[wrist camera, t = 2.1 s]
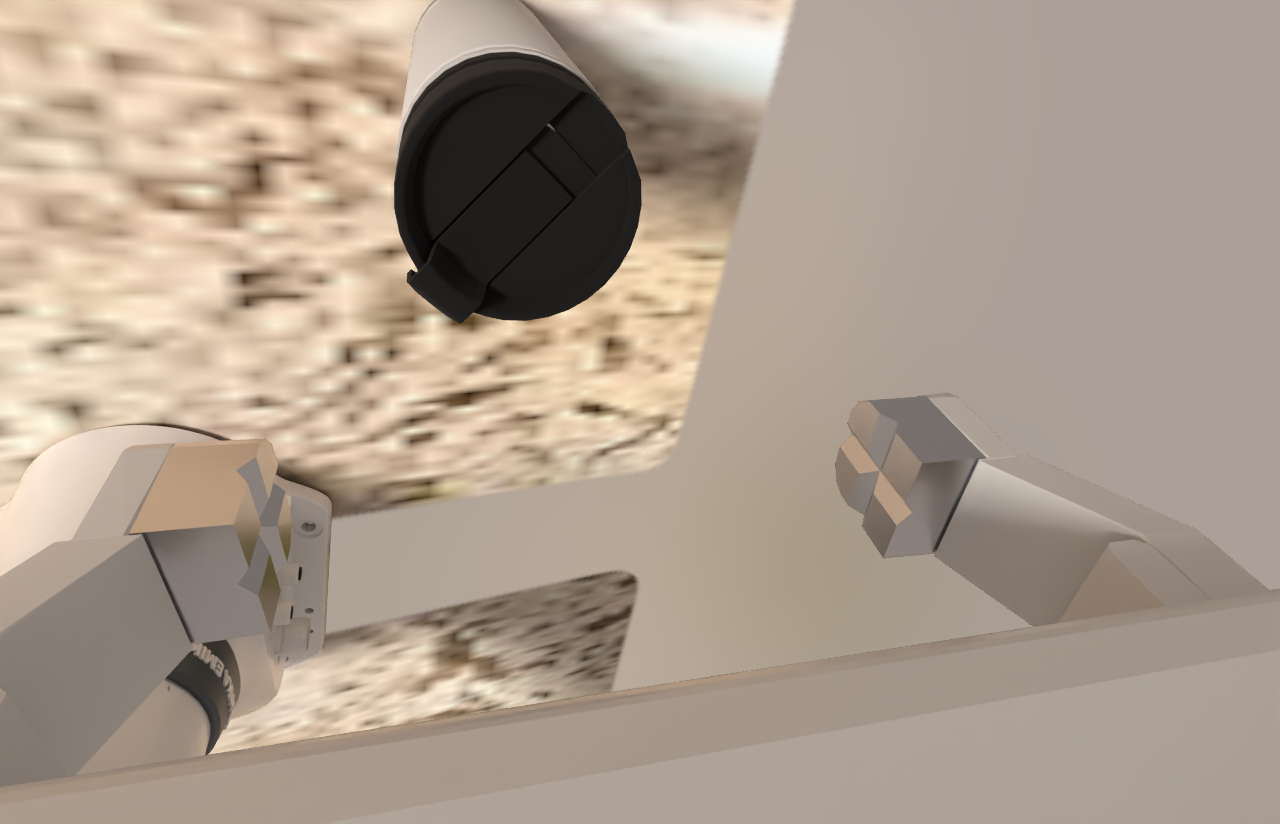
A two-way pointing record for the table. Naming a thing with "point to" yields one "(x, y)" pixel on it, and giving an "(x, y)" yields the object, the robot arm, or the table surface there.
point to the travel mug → (508, 168)
